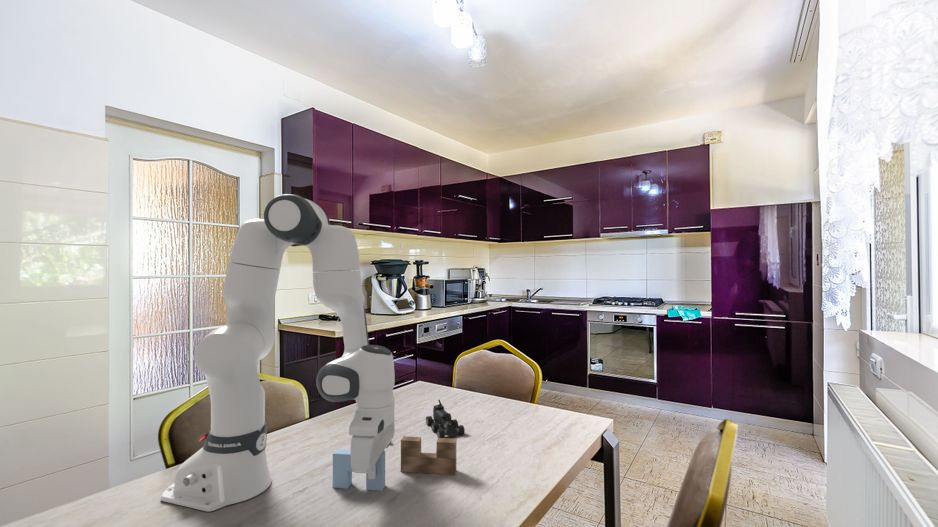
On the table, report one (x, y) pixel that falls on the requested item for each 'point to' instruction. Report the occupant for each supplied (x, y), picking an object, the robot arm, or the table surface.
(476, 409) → the table surface
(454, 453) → the wooden u-shaped block
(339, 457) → the blue arch block
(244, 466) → the robot arm
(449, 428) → the toy vehicle
